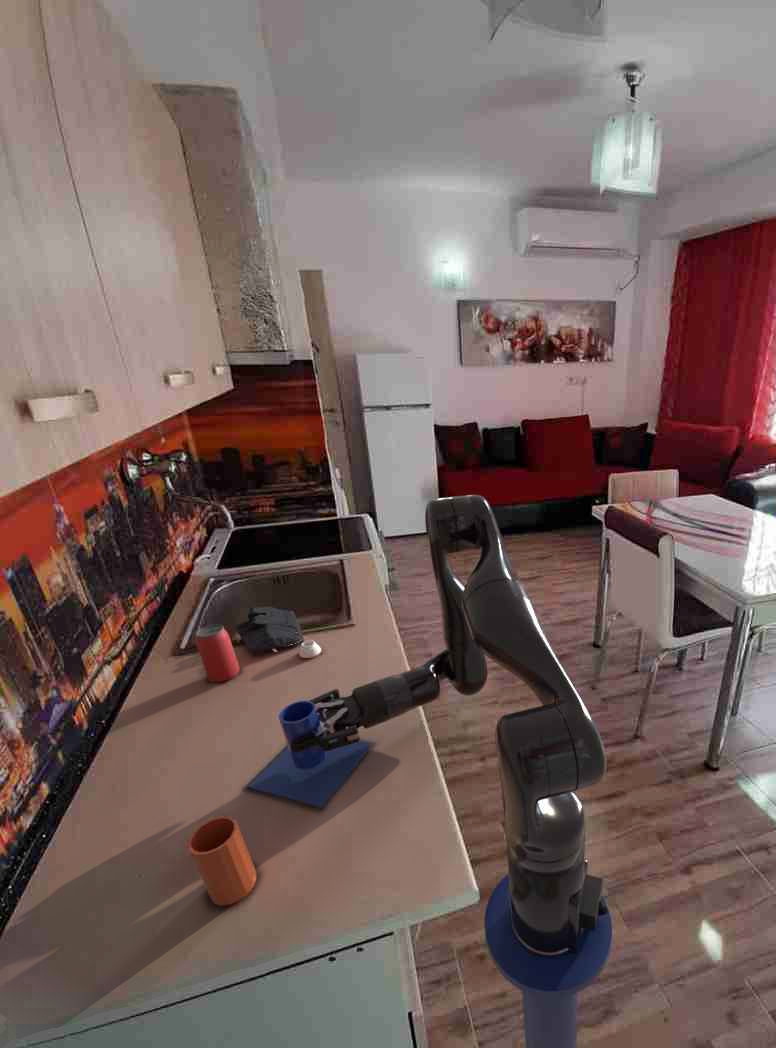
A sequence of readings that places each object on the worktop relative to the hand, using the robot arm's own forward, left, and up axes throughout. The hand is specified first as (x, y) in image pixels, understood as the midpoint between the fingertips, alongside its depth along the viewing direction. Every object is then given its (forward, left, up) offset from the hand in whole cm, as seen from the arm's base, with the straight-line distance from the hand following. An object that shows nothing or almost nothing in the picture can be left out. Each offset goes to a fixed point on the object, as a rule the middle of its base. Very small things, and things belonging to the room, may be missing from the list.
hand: (288, 735), depth 86 cm
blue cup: (-2, -2, -6) cm, 6 cm away
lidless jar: (+23, -33, -8) cm, 41 cm away
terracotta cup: (-6, +20, -8) cm, 22 cm away
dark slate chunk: (+40, -38, -8) cm, 56 cm away
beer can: (+37, -20, -8) cm, 43 cm away
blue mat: (-2, -2, -8) cm, 8 cm away
